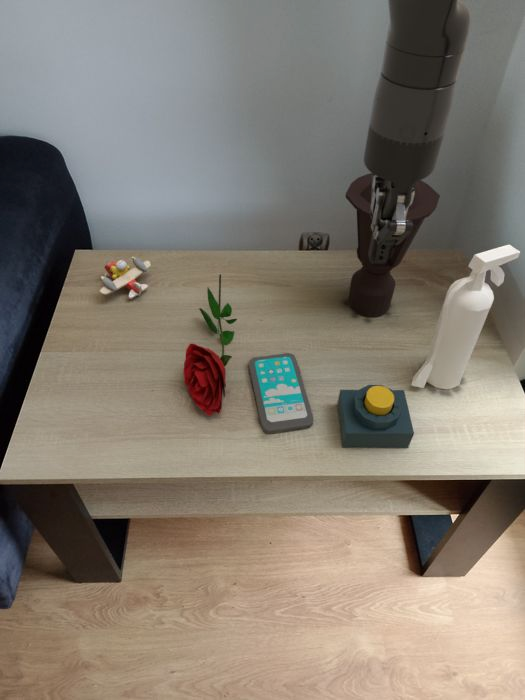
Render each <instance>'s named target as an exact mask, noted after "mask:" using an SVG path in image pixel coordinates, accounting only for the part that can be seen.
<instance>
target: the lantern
mask: <svg viewBox="0 0 525 700" xmlns="http://www.w3.org/2000/svg"><path fill="white" fill-rule="evenodd" d="M371 188H372V174H371V172H370V173H367V174H364V175H361V176H358V177H357V178H356V179H355V180H353V181H352V182H351V183H350V185H349V187H348V189H347V190H346V192H345V199H346V200H347V201H348V202H349V203H350V204H351V206H352V207H353V208H354V209H355V210H356V226H357V227H356V228H357V229H356V230H357V231H356V232H357V248H356V256H357V259H358V260H359V262H360V263H361V266H362V267H360V269H358V270H356V271H355V272H353V274H352V276H351V279H350V285H349V290H348V295H347V305H348V307H349V309H350V310H351V311H352V312H354V314H357V315H358V316H359V317H365V318H372V319H373V318H379V317H383V316H384V315H386V314H387V313H388V311H390V308H391V303H392V299H393V296H394V292H395V290H396V289H395V288H396V281H395V278H394V277H393V276H392V274H391V271H392V270H393V269H394V268H396V267H398V266H399V265H400V264H401V262H402V261H403V259H404V258H405V255H406V254H407V252H408V250H409V249H410V246H411V245H412V242H413V241H414V239H415V238H416V235H417V233H418V231H419V229H420V228H421V226H422V225H423V222H424V221H425V219H426V218H429V217H430V216H431V215H432V214H433V213H434V212H435V211H436V209H437V207H438V204H439V200H440V198H441V197H440V196H441V195H440V194H439V193H438V192H437V191H436V190H435V189H434V188H433V187H432V186H430V185H429V184H428V183H427V182H424V181H423V180H420V181H418V182H416V183H415V184H414V185H413V186H412V188H414V190H415V195H414V199H413V202H412V204H411V205H410V206H409V208H408V212H407V215H406V219H405V220H409V221H412V222H413V229H412V232H411V233H410V234H409V235H408V236H407V237H406V238H405V239H404V240H403V241H402V242H401V243H400V244H399V245H391V248H390V252H389V257H388V261H387V262H386V263H384V264H373V263H371V262H370V260H369V255H368V252H369V247H370V242H371V238H372V233H373V232H374V231H372V228H371V224H372V220H373V219H371V217H370V211H371Z"/></svg>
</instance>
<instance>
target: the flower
mask: <svg viewBox="0 0 525 700" xmlns="http://www.w3.org/2000/svg"><path fill="white" fill-rule="evenodd" d="M206 289H207V291H206V292H207V302H208V306H209V309H210V312H211V315H212V316H213V318H214V319H216V320H217V322H218V327H217V326H216V325H215V323H214V322H213V319H212V318H211V316H210V315H209V313H207V312H206V311H205V310H204V309H203V308H200V307H199V308H198V310H199V311H200V313H201V316H202V317H203V319H204V322H205V324H206V325H207V327H208V329H209V330H210V331H211V332H212V333H213V334H218V336H219V339H220V341H221V356H219V355H218V354H217V353H216V352H214V351H213V350H212V349H209V348H208V347H204V346H200V345H197V344H195V343H189V345H188V346H187V348H186V349H185V357H184V362H183V377H184V378H183V379H184V385H185V386H186V387H187V392H188V394H189V396H190V398H192V401H194V404H195V406H196V407H198V408H199V410H201V411H202V412H203V413H204V414H205V415H207V416H208V417H212V415H213V414H214V413H216V414H217V415H220V414H221V411H222V405H223V403H222V402H223V398H226V388H227V385H226V368H225V367H226V366H227V365H228V363H229V361H230V360H231V359H232V358H233V356H232V355H229V354H225V345H229V344H231V342H232V341H233V339H234V336H235V331H234V330H231V331H230V330H223V328H222V322H221V320H225V322H226V323H227V324H229V325H232V324H234V323H236V322H237V318H231V319H224V318H229V317H231V316H232V312H233V308H232V306H231V305H230V303H229V302H226V304H225V305H224V306H223V308H222V310H221V300H222V298H221V297H222V296H221V295H222V274H221V273H220V274H219V276H218V301H217V300H216V298H215V295H214V294H213V292H212V291H211V289H210V288H209V287H207V288H206Z"/></svg>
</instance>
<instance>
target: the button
mask: <svg viewBox="0 0 525 700" xmlns="http://www.w3.org/2000/svg"><path fill="white" fill-rule="evenodd" d="M383 386H384V385H383ZM383 386H373V387H371V388H370V389H369V390H368V391H367V394H366V398H365V401H364V404H365V407H366V409H367V410H368V411H369V412H370V413H371V414H374V415H377V416H383V415H386V414H388V413H389V412H390V411H391V408H392V405H393V402H394V395H393V393H392V392H391V391H390V390H389V389H388V388H389V387H387V386H385V387H383ZM386 387H387V388H386Z"/></svg>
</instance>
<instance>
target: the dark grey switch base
mask: <svg viewBox="0 0 525 700" xmlns="http://www.w3.org/2000/svg"><path fill="white" fill-rule="evenodd" d="M373 386H383V387H386V388H388V389H389V390H390V391H391V392H392V393H393V395H394V402H393V405H392V408H391V411H390V412H389V413H388V414H386V415H383V416H377V415H374V414H371V413H370V412H369V411H368V410H367V409H366V407H365V404H364V401H365V398H366V394H367V391H368V390H369V389H370V388H371V387H373ZM406 396H407V395H406V393H405V390H404V389H392V388H389V387H387V386H384V385H382V384H367V385H365V386H363V387H361V388H360V389H340V390H339V394H338V399H337V403H336V407H337V413H338V414H337V415H338V422H339V423H338V424H339V431H340V439H341V447H342V448H347V449H348V448H349V449H350V448H352V449H353V448H367V449H369V448H372V449H373V448H377V449H379V448H380V449H381V448H383V449H384V448H385V449H394V448H395V449H408V448H409V447H410V445H411V442H412V440H413V437H414V435H415V431H414V427H413V423H412V419H411V414H410V410H409V405H408V401H407V397H406Z"/></svg>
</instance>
